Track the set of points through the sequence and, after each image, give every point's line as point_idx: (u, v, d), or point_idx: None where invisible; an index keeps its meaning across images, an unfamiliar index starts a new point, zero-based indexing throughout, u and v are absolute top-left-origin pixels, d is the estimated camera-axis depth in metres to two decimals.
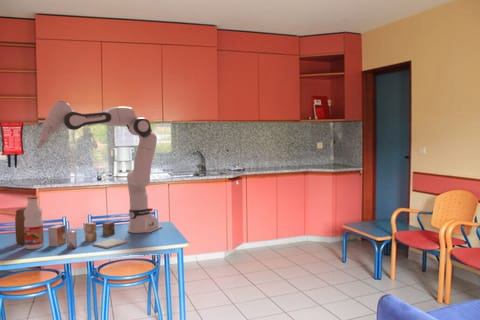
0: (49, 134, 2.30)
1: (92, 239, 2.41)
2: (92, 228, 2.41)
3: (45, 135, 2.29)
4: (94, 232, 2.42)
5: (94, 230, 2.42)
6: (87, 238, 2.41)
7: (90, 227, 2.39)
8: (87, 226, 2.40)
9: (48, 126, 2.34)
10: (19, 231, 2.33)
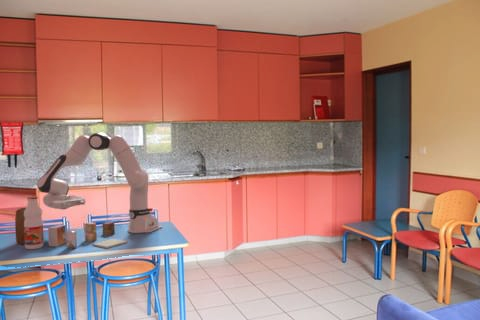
0: (52, 203, 2.45)
1: (92, 239, 2.41)
2: (92, 228, 2.41)
3: (53, 206, 2.44)
4: (94, 232, 2.42)
5: (94, 230, 2.42)
6: (87, 238, 2.41)
7: (90, 227, 2.39)
8: (87, 226, 2.40)
9: None
10: (19, 231, 2.33)
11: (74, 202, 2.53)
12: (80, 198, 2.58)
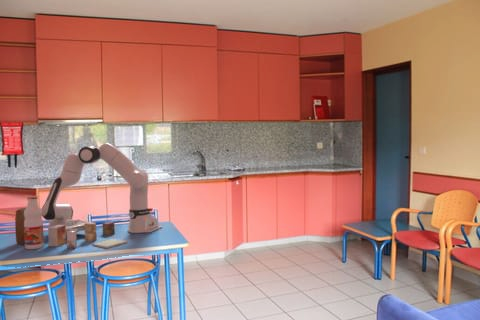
0: None
1: (92, 239, 2.41)
2: (92, 228, 2.41)
3: None
4: (94, 232, 2.42)
5: (94, 230, 2.42)
6: (87, 238, 2.41)
7: (90, 227, 2.39)
8: (87, 226, 2.40)
9: None
10: (19, 231, 2.33)
11: (80, 227, 2.51)
12: (86, 222, 2.57)
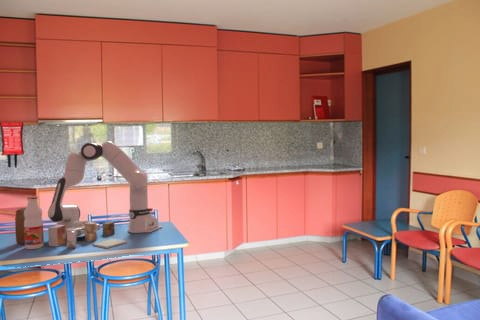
0: None
1: (92, 239, 2.41)
2: (92, 228, 2.41)
3: None
4: (94, 232, 2.42)
5: (94, 230, 2.42)
6: (87, 238, 2.41)
7: (90, 227, 2.39)
8: (87, 226, 2.40)
9: None
10: (19, 231, 2.33)
11: None
12: None
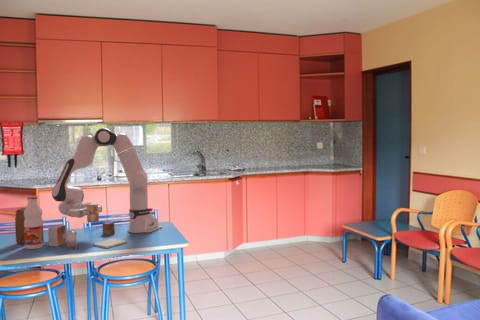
0: (69, 211, 2.37)
1: (94, 220, 2.39)
2: (95, 209, 2.39)
3: (70, 214, 2.36)
4: (96, 213, 2.40)
5: (96, 211, 2.40)
6: (89, 219, 2.39)
7: (92, 208, 2.37)
8: (89, 207, 2.38)
9: None
10: (19, 231, 2.33)
11: None
12: None
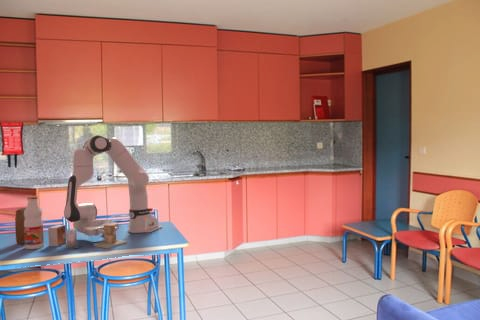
0: (85, 230, 2.29)
1: (112, 241, 2.31)
2: (112, 229, 2.31)
3: (87, 233, 2.28)
4: (114, 234, 2.32)
5: (114, 232, 2.32)
6: (106, 240, 2.31)
7: (110, 229, 2.30)
8: (106, 227, 2.30)
9: None
10: (19, 231, 2.33)
11: None
12: (113, 223, 2.43)
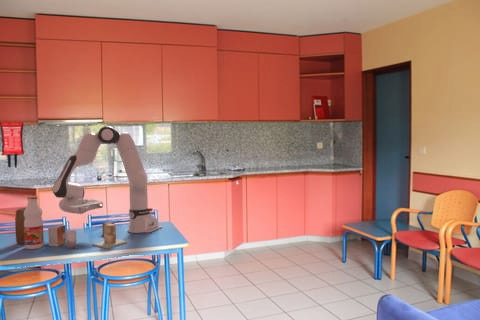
0: (70, 208, 2.36)
1: (112, 241, 2.31)
2: (112, 229, 2.31)
3: (71, 211, 2.35)
4: (114, 234, 2.32)
5: (114, 232, 2.32)
6: (106, 240, 2.31)
7: (110, 229, 2.30)
8: (106, 227, 2.30)
9: None
10: (19, 231, 2.33)
11: (92, 206, 2.44)
12: (97, 201, 2.50)
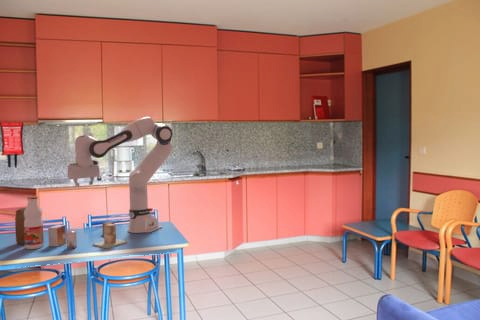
0: (70, 171, 2.40)
1: (112, 241, 2.31)
2: (112, 229, 2.31)
3: (68, 174, 2.41)
4: (114, 234, 2.32)
5: (114, 232, 2.32)
6: (106, 240, 2.31)
7: (110, 229, 2.30)
8: (106, 227, 2.30)
9: None
10: (19, 231, 2.33)
11: None
12: (96, 172, 2.55)
